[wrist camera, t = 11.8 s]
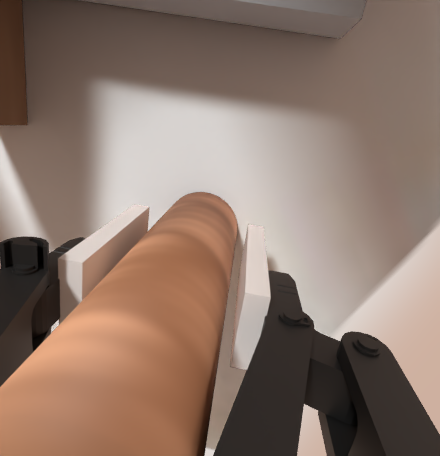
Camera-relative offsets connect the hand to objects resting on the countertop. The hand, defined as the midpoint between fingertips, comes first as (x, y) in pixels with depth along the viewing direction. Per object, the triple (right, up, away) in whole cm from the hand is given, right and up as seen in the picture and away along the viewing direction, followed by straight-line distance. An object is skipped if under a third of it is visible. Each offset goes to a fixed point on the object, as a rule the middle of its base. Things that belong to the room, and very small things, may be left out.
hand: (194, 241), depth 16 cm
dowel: (0, +1, +2) cm, 2 cm away
